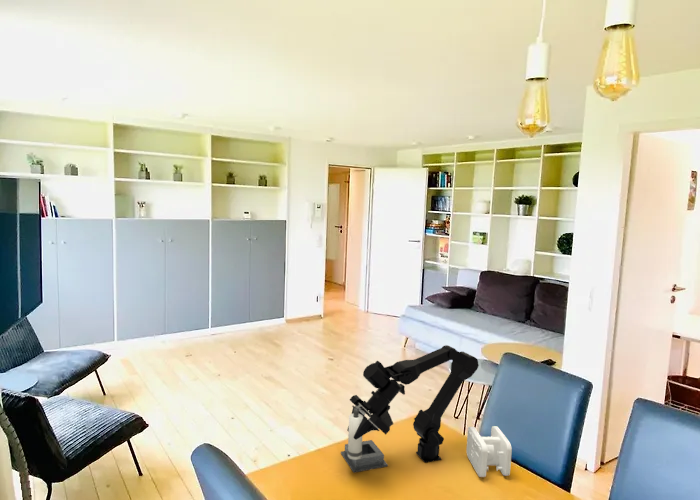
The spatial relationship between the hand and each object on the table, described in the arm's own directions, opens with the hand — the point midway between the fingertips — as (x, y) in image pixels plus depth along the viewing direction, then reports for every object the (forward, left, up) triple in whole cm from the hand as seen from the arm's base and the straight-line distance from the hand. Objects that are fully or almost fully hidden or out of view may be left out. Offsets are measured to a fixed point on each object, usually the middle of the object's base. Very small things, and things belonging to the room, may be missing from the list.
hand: (351, 435), depth 145 cm
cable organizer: (-45, +10, -13) cm, 48 cm away
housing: (-7, -6, -13) cm, 16 cm away
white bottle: (-1, 0, -7) cm, 7 cm away
